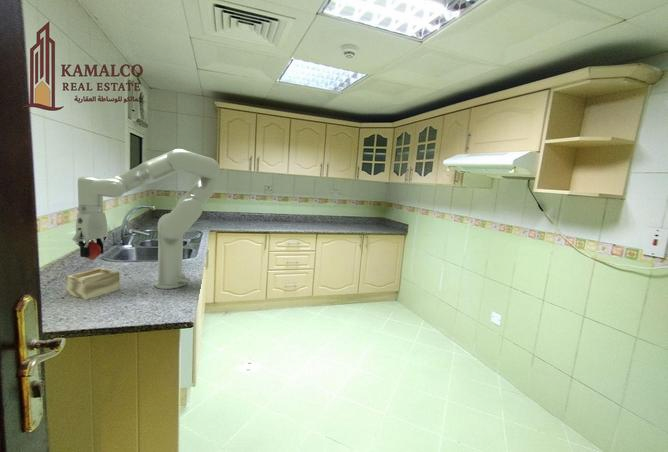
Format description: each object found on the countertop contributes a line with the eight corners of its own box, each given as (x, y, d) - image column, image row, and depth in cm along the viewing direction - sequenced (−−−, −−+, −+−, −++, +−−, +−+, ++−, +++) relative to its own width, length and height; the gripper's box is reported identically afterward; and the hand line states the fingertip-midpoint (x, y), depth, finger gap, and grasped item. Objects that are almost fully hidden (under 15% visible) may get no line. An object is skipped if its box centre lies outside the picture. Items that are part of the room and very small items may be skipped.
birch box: (119, 289, 130) (119, 272, 129) (86, 300, 118) (85, 281, 117) (100, 284, 133) (100, 267, 132) (66, 294, 121) (65, 275, 120)
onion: (79, 261, 120) (79, 241, 119) (87, 257, 125) (86, 238, 124) (97, 261, 121) (97, 241, 120) (104, 257, 127) (103, 238, 126)
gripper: (80, 212, 112) (81, 261, 114) (117, 208, 129) (118, 251, 131) (60, 210, 112) (62, 259, 115) (100, 206, 129) (101, 249, 132)
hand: (92, 254), depth 123 cm, fingers closed on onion, 5 cm apart
